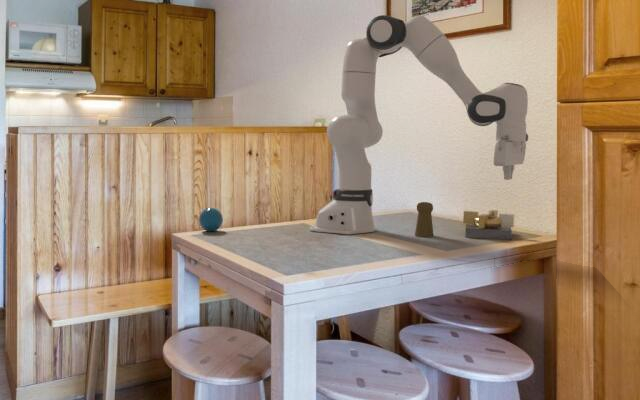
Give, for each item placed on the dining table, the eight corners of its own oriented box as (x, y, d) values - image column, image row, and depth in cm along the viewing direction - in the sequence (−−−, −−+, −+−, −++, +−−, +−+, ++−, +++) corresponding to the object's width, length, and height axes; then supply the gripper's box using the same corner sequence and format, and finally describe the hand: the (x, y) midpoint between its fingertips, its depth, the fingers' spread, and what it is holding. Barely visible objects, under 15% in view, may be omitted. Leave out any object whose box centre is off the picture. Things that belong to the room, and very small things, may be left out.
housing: (465, 237, 185) (465, 228, 184) (466, 231, 197) (466, 222, 197) (511, 239, 181) (511, 230, 181) (509, 233, 194) (509, 223, 193)
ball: (216, 234, 189) (215, 209, 189) (194, 232, 192) (194, 208, 191) (227, 230, 197) (227, 207, 196) (206, 228, 199) (206, 206, 199)
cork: (433, 237, 184) (434, 203, 183) (414, 237, 185) (415, 203, 184) (433, 234, 190) (434, 201, 189) (415, 233, 191) (415, 201, 190)
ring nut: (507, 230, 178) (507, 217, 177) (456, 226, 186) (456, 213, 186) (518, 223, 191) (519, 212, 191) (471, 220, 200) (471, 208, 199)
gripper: (510, 135, 171) (507, 182, 173) (529, 135, 187) (527, 178, 189) (489, 135, 174) (487, 180, 176) (510, 135, 191) (507, 177, 193)
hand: (507, 179), depth 183 cm, fingers closed
